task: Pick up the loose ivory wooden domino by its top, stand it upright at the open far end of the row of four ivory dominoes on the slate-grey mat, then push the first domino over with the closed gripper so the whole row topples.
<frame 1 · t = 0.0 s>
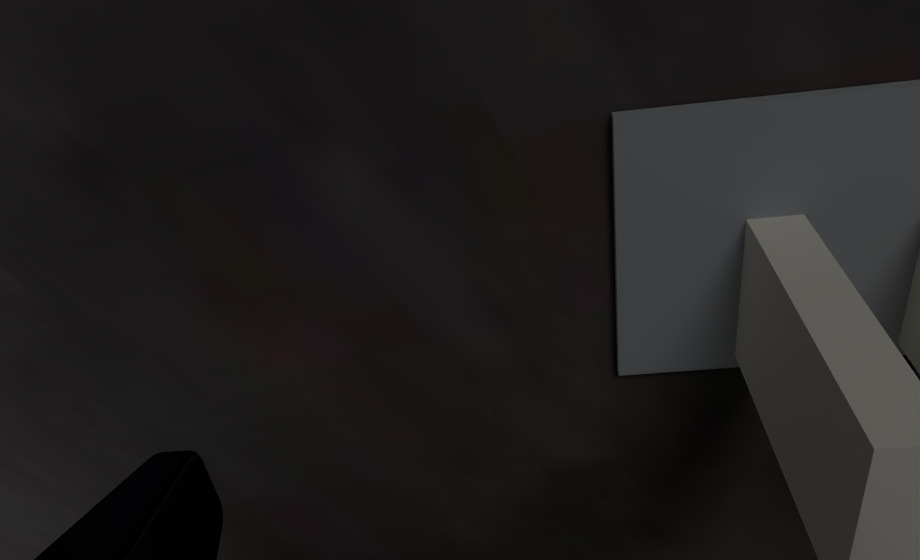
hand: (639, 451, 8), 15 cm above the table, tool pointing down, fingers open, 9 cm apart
domino 1: (767, 289, 24), resting on mat
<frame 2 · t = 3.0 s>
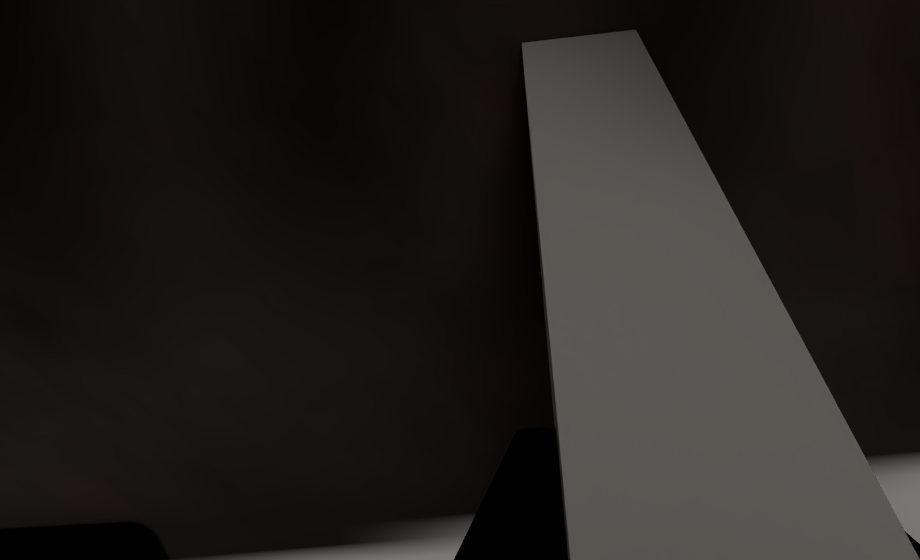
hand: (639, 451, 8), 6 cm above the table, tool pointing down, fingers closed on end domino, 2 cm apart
end domino: (585, 194, 12), on the table, touching gripper
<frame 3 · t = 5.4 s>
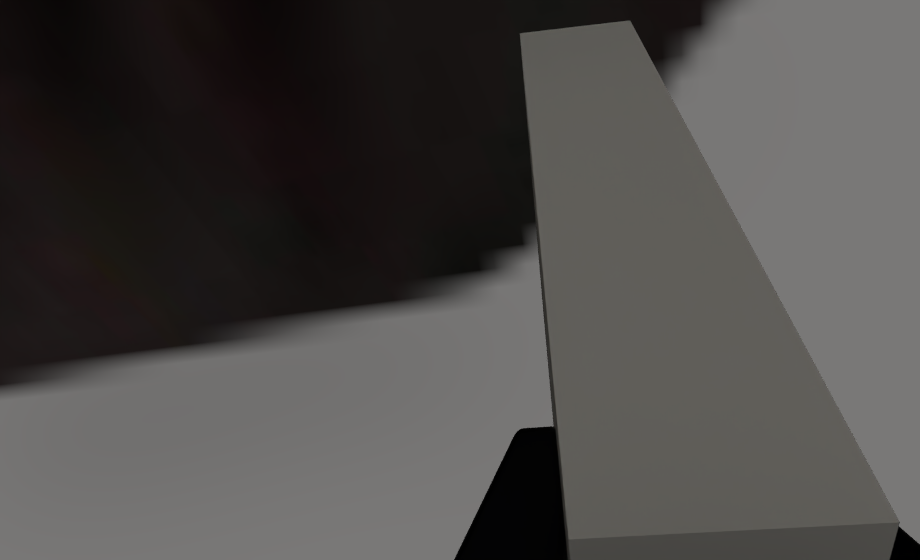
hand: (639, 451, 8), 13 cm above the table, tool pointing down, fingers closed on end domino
end domino: (581, 180, 13), point 7 cm above the table, touching gripper
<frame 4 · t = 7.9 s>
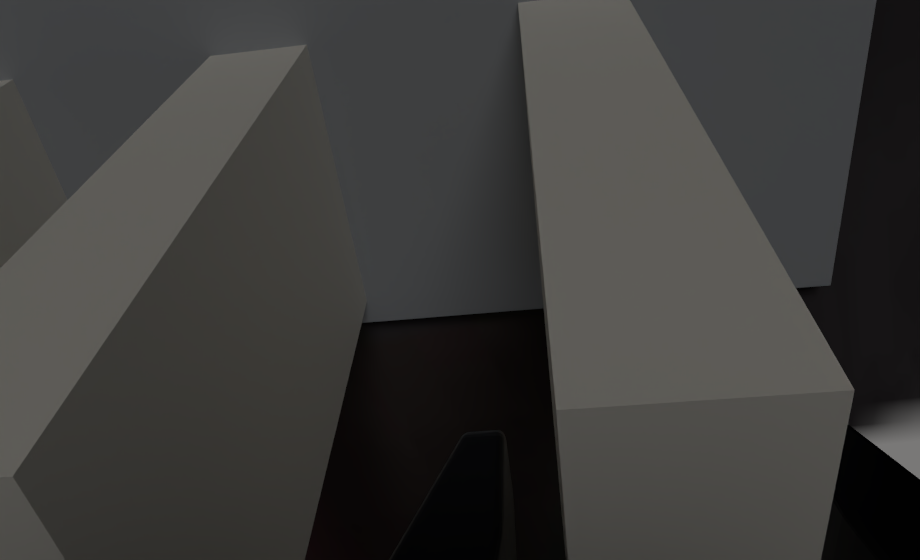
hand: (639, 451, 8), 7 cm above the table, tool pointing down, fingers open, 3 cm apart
domino 3: (31, 216, 14), resting on mat
domino 4: (295, 190, 14), resting on mat
mat: (7, 131, 14), on the table
end domino: (577, 148, 13), resting on mat
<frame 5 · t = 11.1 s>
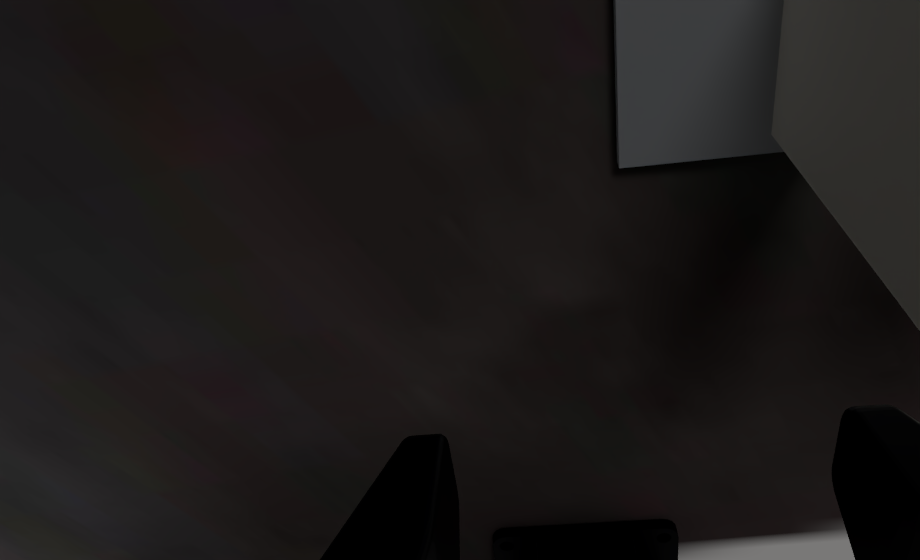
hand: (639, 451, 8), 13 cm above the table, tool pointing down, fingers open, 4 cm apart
domino 1: (817, 27, 18), resting on mat
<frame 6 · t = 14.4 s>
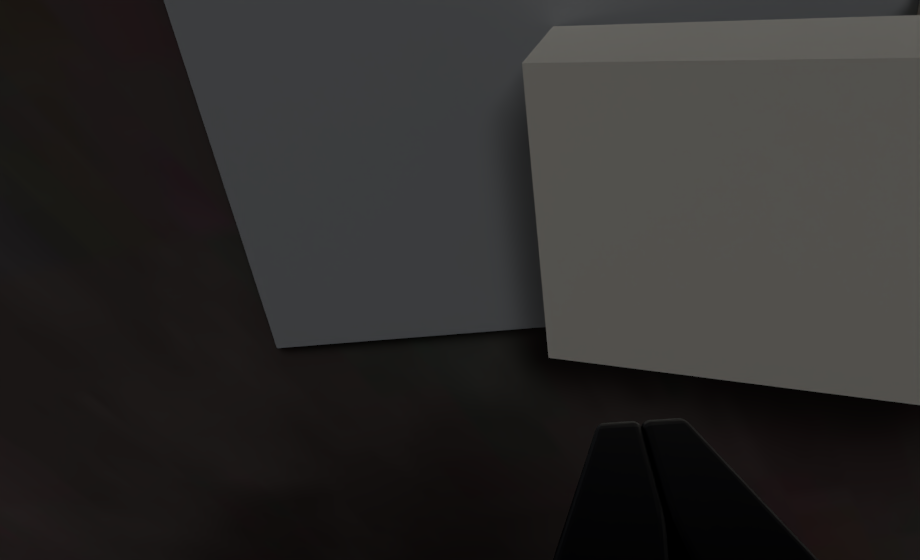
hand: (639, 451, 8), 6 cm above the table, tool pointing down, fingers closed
domino 1: (550, 202, 12), point 1 cm above the table, tilted 72°, touching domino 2, mat
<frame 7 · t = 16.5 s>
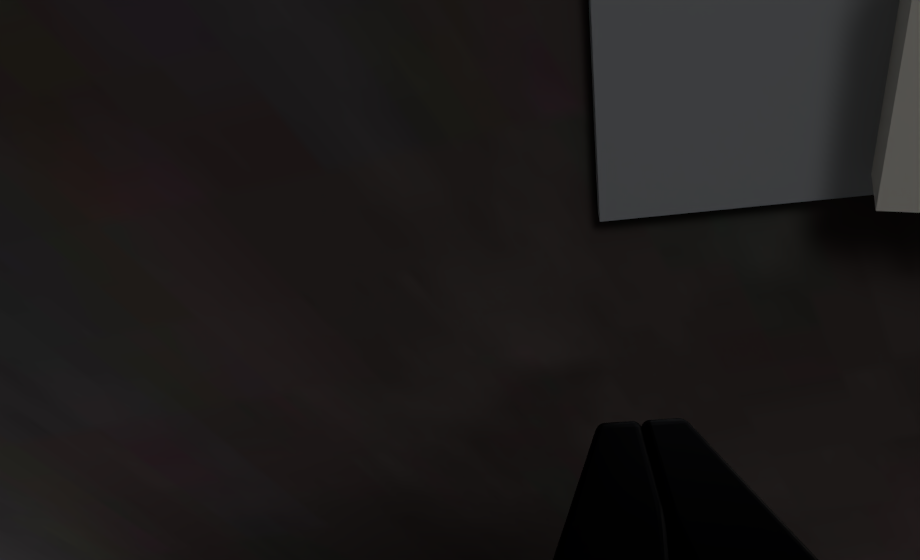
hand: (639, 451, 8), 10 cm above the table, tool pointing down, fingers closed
domino 1: (893, 71, 14), point 1 cm above the table, tilted 72°, touching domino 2, mat
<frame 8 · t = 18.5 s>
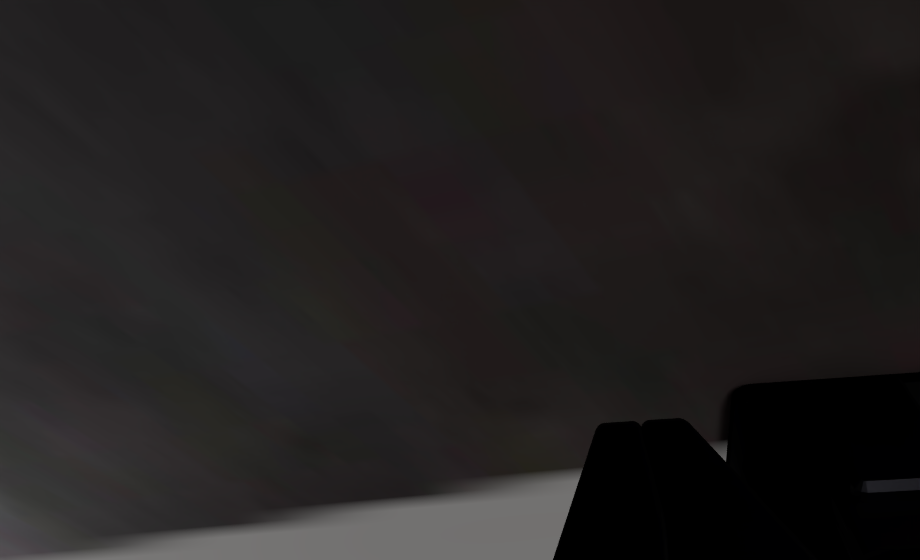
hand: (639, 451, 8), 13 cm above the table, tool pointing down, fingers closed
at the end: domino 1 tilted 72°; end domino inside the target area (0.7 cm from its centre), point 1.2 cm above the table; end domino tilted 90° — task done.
